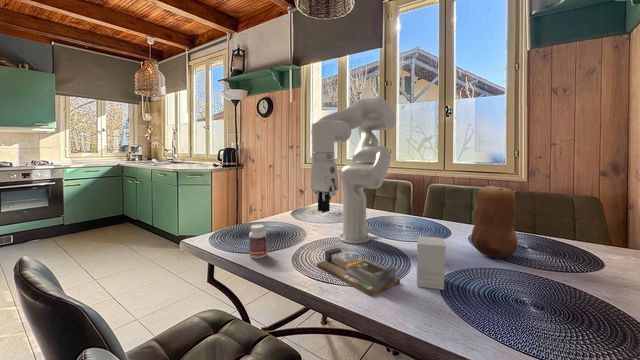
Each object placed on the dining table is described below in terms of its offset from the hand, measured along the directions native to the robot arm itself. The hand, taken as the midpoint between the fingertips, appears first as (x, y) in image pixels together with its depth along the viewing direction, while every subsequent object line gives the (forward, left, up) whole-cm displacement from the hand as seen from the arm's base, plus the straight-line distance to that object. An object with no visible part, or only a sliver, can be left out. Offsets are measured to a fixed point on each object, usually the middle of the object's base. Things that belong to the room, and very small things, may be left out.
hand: (323, 210), depth 102 cm
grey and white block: (0, +10, -16) cm, 19 cm away
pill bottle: (+17, -17, -17) cm, 30 cm away
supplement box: (-13, +33, -17) cm, 39 cm away
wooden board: (0, +16, -17) cm, 23 cm away
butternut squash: (-48, +35, -17) cm, 62 cm away
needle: (+2, +18, -16) cm, 24 cm away
